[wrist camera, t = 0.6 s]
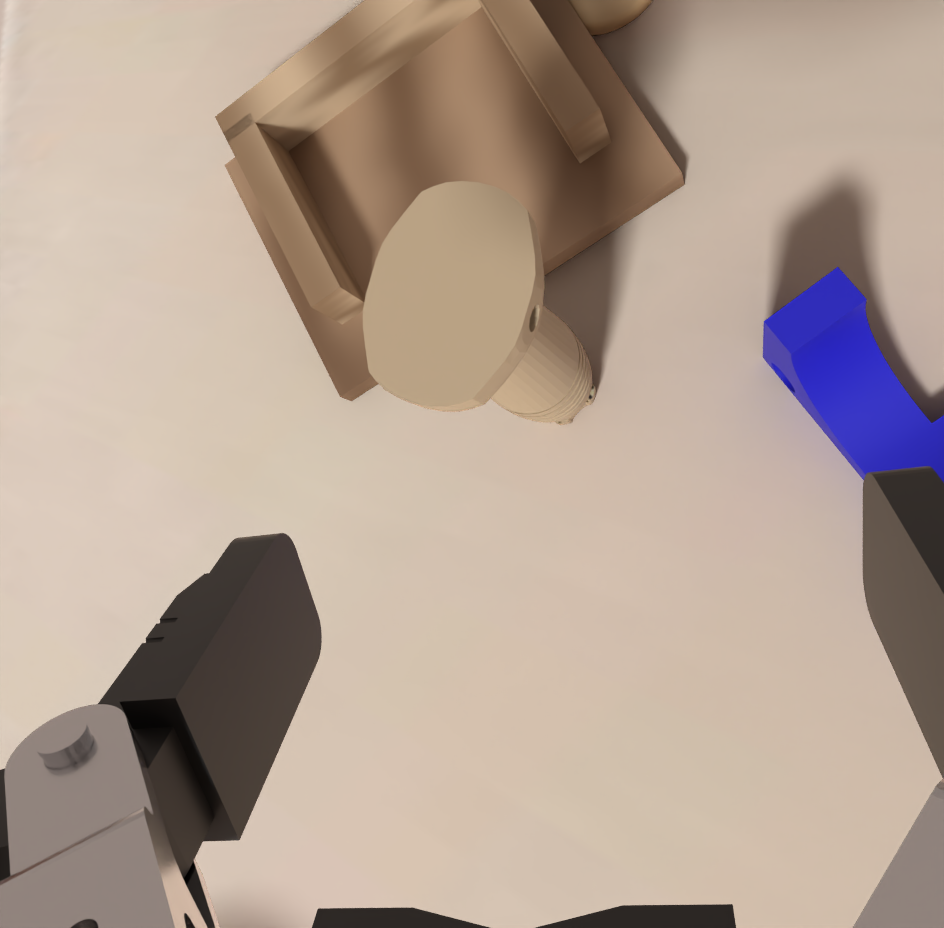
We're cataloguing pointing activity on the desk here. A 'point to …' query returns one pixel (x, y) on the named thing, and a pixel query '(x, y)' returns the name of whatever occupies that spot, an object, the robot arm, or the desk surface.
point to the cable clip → (849, 380)
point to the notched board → (433, 144)
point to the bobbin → (607, 13)
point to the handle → (471, 311)
